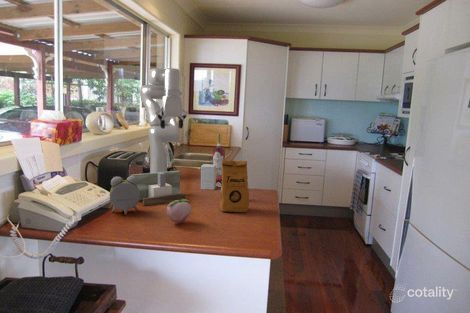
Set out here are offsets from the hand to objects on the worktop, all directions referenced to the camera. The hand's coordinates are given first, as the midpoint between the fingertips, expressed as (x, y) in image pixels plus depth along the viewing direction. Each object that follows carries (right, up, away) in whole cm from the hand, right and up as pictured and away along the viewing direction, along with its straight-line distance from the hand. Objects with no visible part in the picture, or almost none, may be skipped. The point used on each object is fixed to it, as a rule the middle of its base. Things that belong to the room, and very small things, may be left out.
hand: (171, 128), depth 175 cm
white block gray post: (-3, -35, -13) cm, 37 cm away
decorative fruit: (+10, -40, -44) cm, 60 cm away
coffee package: (+32, -38, -25) cm, 55 cm away
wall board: (-3, -35, -13) cm, 37 cm away
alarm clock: (-13, -37, -34) cm, 52 cm away
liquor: (+22, -29, +31) cm, 48 cm away
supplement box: (+17, -32, +13) cm, 38 cm away
